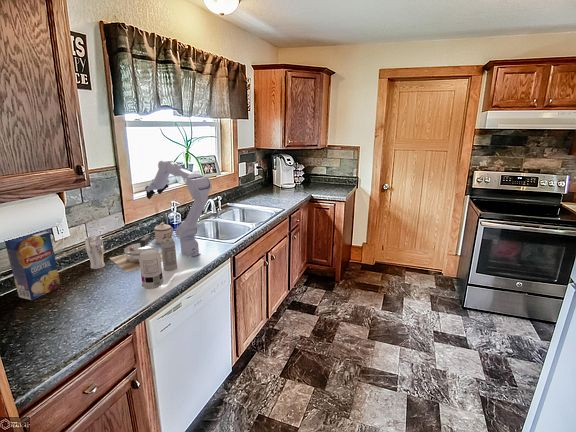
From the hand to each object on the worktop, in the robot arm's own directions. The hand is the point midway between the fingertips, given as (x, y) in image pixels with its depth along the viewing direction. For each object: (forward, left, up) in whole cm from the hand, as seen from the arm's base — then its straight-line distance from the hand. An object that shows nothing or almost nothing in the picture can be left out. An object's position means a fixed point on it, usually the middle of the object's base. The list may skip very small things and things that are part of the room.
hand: (153, 195), depth 180 cm
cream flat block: (-17, +17, -26) cm, 36 cm away
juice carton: (-20, +59, -28) cm, 68 cm away
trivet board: (-17, +17, -27) cm, 37 cm away
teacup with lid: (-1, -4, -28) cm, 28 cm away
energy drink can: (-38, +12, -28) cm, 49 cm away
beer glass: (-12, +35, -28) cm, 47 cm away
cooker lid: (-15, +15, -22) cm, 31 cm away
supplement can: (-46, +24, -28) cm, 59 cm away
